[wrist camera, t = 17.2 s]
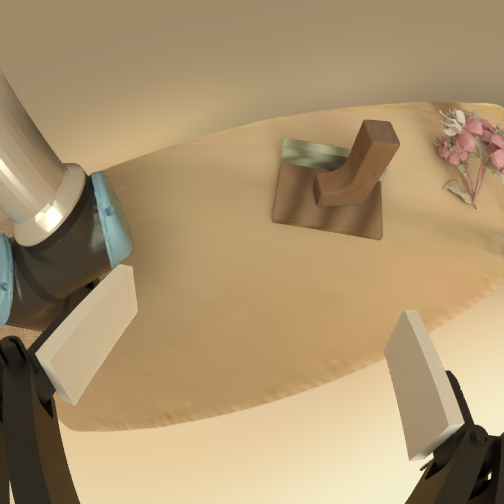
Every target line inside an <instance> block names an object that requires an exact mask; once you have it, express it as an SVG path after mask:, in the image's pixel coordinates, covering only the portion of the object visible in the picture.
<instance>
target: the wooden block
mask: <svg viewBox="0 0 504 504" xmlns="http://www.w3.org/2000/svg"><path fill="white" fill-rule="evenodd" d="M399 146H400V142H399V140H398V138H397V135H396V133H395V131H394V129H393V127H392V125H391V123H390V122H388V121H377V120H364V121H363V123H362V125H361V128H360V130H359V133H358V135H357V137H356V140H355V142H354V145H353V147H352V150H351V152H350V154H349V157H348V159H347V161H346V162H345V163H344V164H343V166H342V167H340V168H338V169H336V170H334V171H331V172H323V173H317V174H316V177H315V181H314V184H313V191H314V196H315V201H316V205H317V207H326V206H348V205H362V204H363V203H364V202H365V200H366V199H367V197H368V195H369V194H370V192H371V191H372V189H373V188H374V186H375V185H376V183H377V182H378V180H379V178H380V177H381V175H382V174H383V172H384V171H385V169H386V167H387V166H388V164H389V163H390V161H391V159H392V158H393V156H394V154H395V153H396V151H397V150H398V148H399Z"/></svg>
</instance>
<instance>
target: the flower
mask: <svg viewBox="0 0 504 504" xmlns="http://www.w3.org/2000/svg"><path fill="white" fill-rule="evenodd" d="M453 109H454V111H453V112H451V111H450V109H449V113H447V112H446V113H447V116H445V115H444V114H443V113H442V112H441V110H439V111H440V113H441V114H442V115H443V116H444V117H445V119H446V122H443V121H441V122H442V123H444V124H441V125H442V129H443V131H444V132H445V133H446V134H447V135H445V134H444V137H443V136H442V135H441V133H438V134H437V136H438V138H439V139H438V138H436V139H438V140H437V142H439V143H440V144H437V142H434V141H433V144H435V145H436V146H438V147H439V148H438V149H437V151H438V152H439V155H440V157H444V159H445V160H446V161H447V162H450V163H451V164H455V165H458V163H459V165H458V166H457V167H458V169H459V170H460V172H461V173H463V174H464V176H465V178H466V179H467V182H468V185H469V189H470V192H471V195H470V193H469V192H468V191H466V190H464V189H463V188H461V186H460V185H459V184H458V182H457V181H455V180H452V181H451V182H449V183H448V184H446V185H445V187H444V188H443V189H442V190H445V189H447V188H449V189H450V190H451V191H453V192H454V193H456V194H458V195H460V196H461V197H462V198H463V200H464V201H465V202H466V203H468V204H473V205H474V207H475V209H476V198H477V195H478V192H479V189H480V186H481V183H482V180H483V177H484V174H485V171H486V169H488V170H491V171H492V176H493V174H494V172H495V173H496V175H497V176H498V177H499V179H500V180H501V181H502V182H503V183H504V167H503V168H502V166H503V165H504V131H503V130H504V128H503V130H502V128H501V127H502V124H497V130H496V129H495V128H494V127H492V125H491V124H489V122H488V121H487V120H486V119H481V118H480V116H479V112H478V111H477V110H475V109H473V113H472V112H471V113H472V115H471V114H470V115H469V114H468V112H467V111H466V113H463V112H462V111H461V110H457V109H455V108H454V107H453ZM469 113H470V112H469ZM464 115H465V116H466V117H464ZM483 130H484V131H483ZM454 135H455V136H454ZM450 136H451V137H450ZM474 137H475V138H474ZM439 140H440V141H439ZM489 142H491V143H490V144H489ZM475 148H476V152H477V154H475V153H473V152H471V151H473V150H474V149H475ZM466 151H468V152H466ZM469 156H471V157H475V156H477V157H478V158H480V161H481V164H480V169H479V175H478V179H477V184H476V189H475V193H474V192H473V187H472V183H471V180H470V178H469V176H468V173H467V166H468V163H467V161H468V158H469ZM459 157H460V158H461V159H462V162H461V160H460V158H459ZM503 188H504V184H503ZM471 196H472V197H471Z"/></svg>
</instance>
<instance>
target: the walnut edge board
mask: <svg viewBox="0 0 504 504" xmlns="http://www.w3.org/2000/svg"><path fill="white" fill-rule="evenodd" d="M350 152H351V150H349V149H344V148H339V147H334V146H329V145H324V144H318V143H313V142H307V141H301V140H294V139H288V138H284V141H283V149H282V158H281V166H280V172H279V179H278V186H277V192H276V199H275V205H274V212H273V218H272V222H274V223H280V224H287V225H293V226H299V227H306V228H312V229H318V230H324V231H330V232H336V233H342V234H347V235H353V236H359V237H364V238H370V239H375V240H380V239H381V238H382V237H383V226H382V197H381V180H382V178H383V177H384V175H385V174H386V172H387V171H388V169H389V168H390V165H389V164H388V166H387V167H386V169H385V171H384V172H383V174H382V175H381V177H380V178H379V180H378V182H377V183H376V185H375V186H374V188H373V189H372V191H371V192H370V194H369V195H368V197H367V199H366V200H365V202H364V203H363V204H362V205H348V206H326V207H317V205H316V201H315V196H314V191H313V184H314V181H315V177H316V174H317V173H323V172H331V171H334V170H336V169H338V168H340V167H342V166H343V164H344V163H345V162H346V161H347V159H348V157H349V154H350Z"/></svg>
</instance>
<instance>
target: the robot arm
mask: <svg viewBox="0 0 504 504" xmlns="http://www.w3.org/2000/svg"><path fill="white" fill-rule="evenodd" d="M0 209H1V210H2V211H3V212H4V213H5V214H6V215H7V216H8V217H9V218H11V219H12V220H13V232H14V236H13V237H11V238H8V236H7V235H5V234H4V233H3V234H0V325H4V324H5V325H10V326H15V327H20V328H25V329H30V330H36V331H42V332H43V333H42V334H41V335H40V336H39V337H38V338H37V339H36V341H35V342H34V343H33V344H32V345H31V346H30V347H29V349H28V350H26V348H25V347H24V344H23V342H22V341H21V339H20V338H19V337H17V336H7V337H4V338H3V339H2V340H0V504H10V498H9V497H10V495H9V480H10V482H11V488H12V493H13V497H14V501H15V504H80V502H79V499H78V496H77V493H76V490H75V487H74V484H73V481H72V478H71V474H70V471H69V468H68V464H67V460H66V456H65V453H64V448H63V444H62V439H61V434H60V430H59V424H58V419H57V413H56V406H55V400H54V398H53V394H54V393H55V391H56V392H57V393H58V395H59V397H60V398H61V399H62V400H64V401H66V402H68V403H69V404H71V405H73V406H75V405H76V404H77V402H78V401H79V399H80V397H81V396H82V394H83V393H84V391H85V389H86V388H87V386H88V385H89V383H90V382H91V380H92V378H93V377H94V375H95V374H96V372H97V371H98V369H99V368H100V366H101V365H102V363H103V362H104V360H105V359H106V357H107V356H108V354H109V353H110V351H111V350H112V348H113V347H114V345H115V344H116V342H117V341H118V339H119V338H120V337H121V335H122V334H123V332H124V331H125V329H126V328H127V326H128V325H129V324H130V322H131V321H132V319H133V318H134V317H135V315H136V314H137V312H138V306H137V299H136V292H135V285H134V277H133V268H132V266H127V265H123V264H119V265H118V266H117V267H116V268H115V266H116V265H117V264H118V263H120V262H121V261H122V260H124V259H125V258H126V257H128V256H129V255H130V253H131V251H132V249H133V239H132V235H131V232H130V229H129V227H128V224H127V222H126V219H125V217H124V214H123V212H122V209H121V207H120V205H119V202H118V200H117V198H116V196H115V193H114V191H113V189H112V187H111V185H110V183H109V181H108V179H107V177H106V176H105V175H104V174H103V172H101V171H98V172H94V173H92V174H91V175H90V176H89V177H88V175H87V174H86V173H85V171H84V170H83V169H82V167H81V166H80V165H78V164H75V163H63V164H62V162H61V161H60V160H59V158H58V157H57V155H56V154H55V153H54V151H53V150H52V149H51V147H50V146H49V144H48V143H47V141H46V140H45V139H44V137H43V136H42V134H41V133H40V131H39V130H38V129H37V127H36V125H35V124H34V122H33V121H32V119H31V118H30V116H29V115H28V114H27V112H26V110H25V109H24V107H23V105H22V104H21V102H20V101H19V99H18V98H17V96H16V94H15V92H14V91H13V89H12V87H11V86H10V84H9V82H8V80H7V79H6V77H5V75H4V73H3V71H2V70H1V68H0ZM113 268H114V269H113ZM111 269H113V270H112V271H111V272H110V273H109V274H108V275H107V276H106V277H105V278H104V279H103V280H102V281H101V282H100V283H99V281H98V280H97V278H98V277H100V276H101V275H103V274H104V273H106V272H108V271H109V270H111ZM384 353H385V357H386V360H387V364H388V367H389V370H390V375H391V379H392V382H393V386H394V390H395V394H396V398H397V403H398V407H399V411H400V416H401V420H402V425H403V430H404V435H405V440H406V445H407V450H408V457H409V461H414V460H420V459H425V458H426V457H427V456H428V455H430V454H431V453H432V452H433V456H434V458H433V459H432V460H430V461H429V462H428V463H427V464H425V465H424V466H423V467H422V468H421V469H420V471H422V470H423V469H425V468H426V467H427V468H426V470H425V472H424V473H423V475H422V477H421V479H420V480H419V482H418V484H417V485H416V487H415V489H414V490H413V492H412V494H411V495H410V497H409V498H408V500H407V501H406V503H405V504H504V432H503V433H502V434H501V435H500V436H491V435H488V433H487V432H486V430H485V429H484V428H483V427H481V426H479V425H475V424H474V422H473V419H472V417H471V414H470V411H469V408H468V406H467V403H466V401H465V398H464V397H463V396H464V395H463V393H462V390H460V385H459V383H458V381H457V379H456V377H455V376H454V375H453V374H452V373H451V371H445V370H444V367H443V365H442V363H441V360H440V358H439V356H438V354H437V351H436V349H435V347H434V345H433V343H432V341H431V338H430V337H429V334H428V332H427V330H426V328H425V326H424V324H423V322H422V320H421V318H420V316H419V314H418V312H417V310H409V309H404V310H403V312H402V314H401V316H400V318H399V320H398V323H397V325H396V327H395V329H394V331H393V333H392V335H391V337H390V339H389V341H388V343H387V345H386V347H385V349H384ZM490 473H491V479H489V480H488V475H489V474H490Z"/></svg>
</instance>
